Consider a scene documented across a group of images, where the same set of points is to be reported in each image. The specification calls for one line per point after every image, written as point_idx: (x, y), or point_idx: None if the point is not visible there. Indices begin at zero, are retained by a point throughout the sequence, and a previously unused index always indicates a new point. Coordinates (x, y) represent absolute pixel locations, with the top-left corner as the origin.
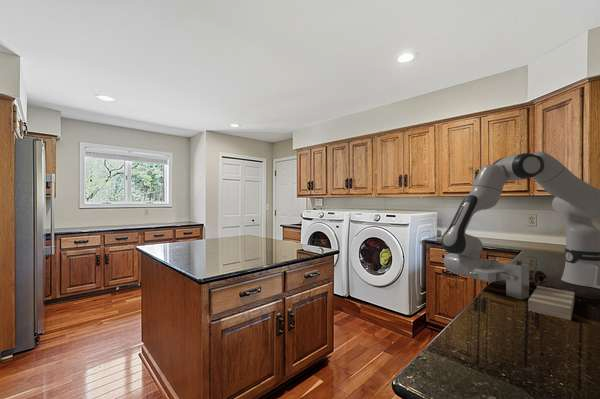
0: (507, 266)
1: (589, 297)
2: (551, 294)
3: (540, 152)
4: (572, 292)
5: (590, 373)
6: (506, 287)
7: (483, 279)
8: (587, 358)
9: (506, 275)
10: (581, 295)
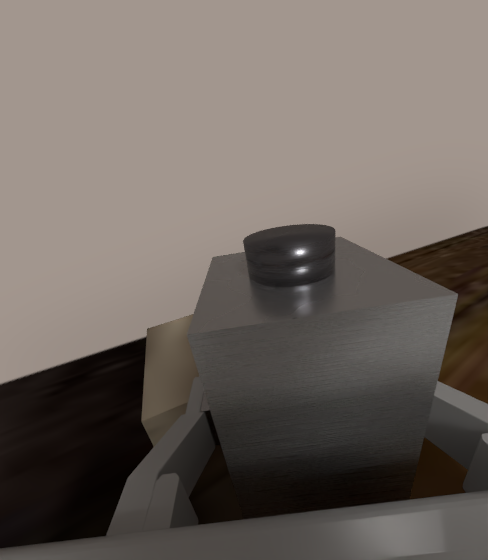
0: (429, 332)
1: (50, 374)
2: None
3: None
4: (160, 327)
5: (467, 233)
6: None
7: None
8: (442, 243)
9: (457, 392)
10: (28, 394)
